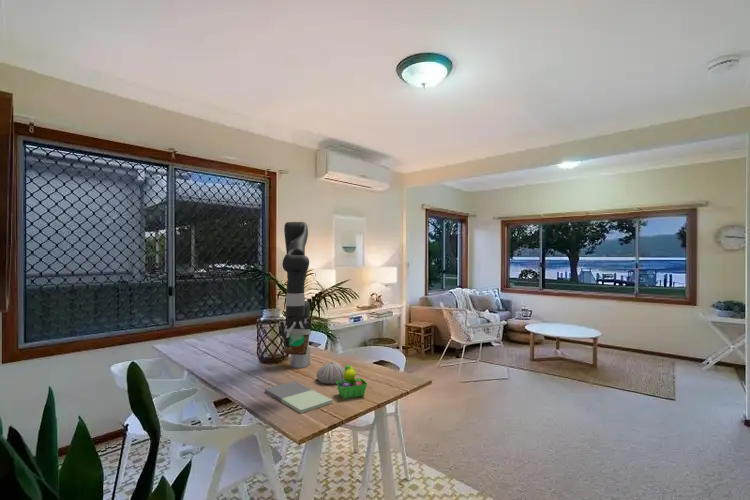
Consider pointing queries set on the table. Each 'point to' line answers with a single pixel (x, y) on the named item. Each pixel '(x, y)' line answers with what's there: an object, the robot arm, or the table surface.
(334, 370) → the sea urchin shell
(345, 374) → the fruit basket
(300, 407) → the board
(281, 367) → the table surface
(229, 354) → the table surface
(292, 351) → the food container
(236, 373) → the table surface
